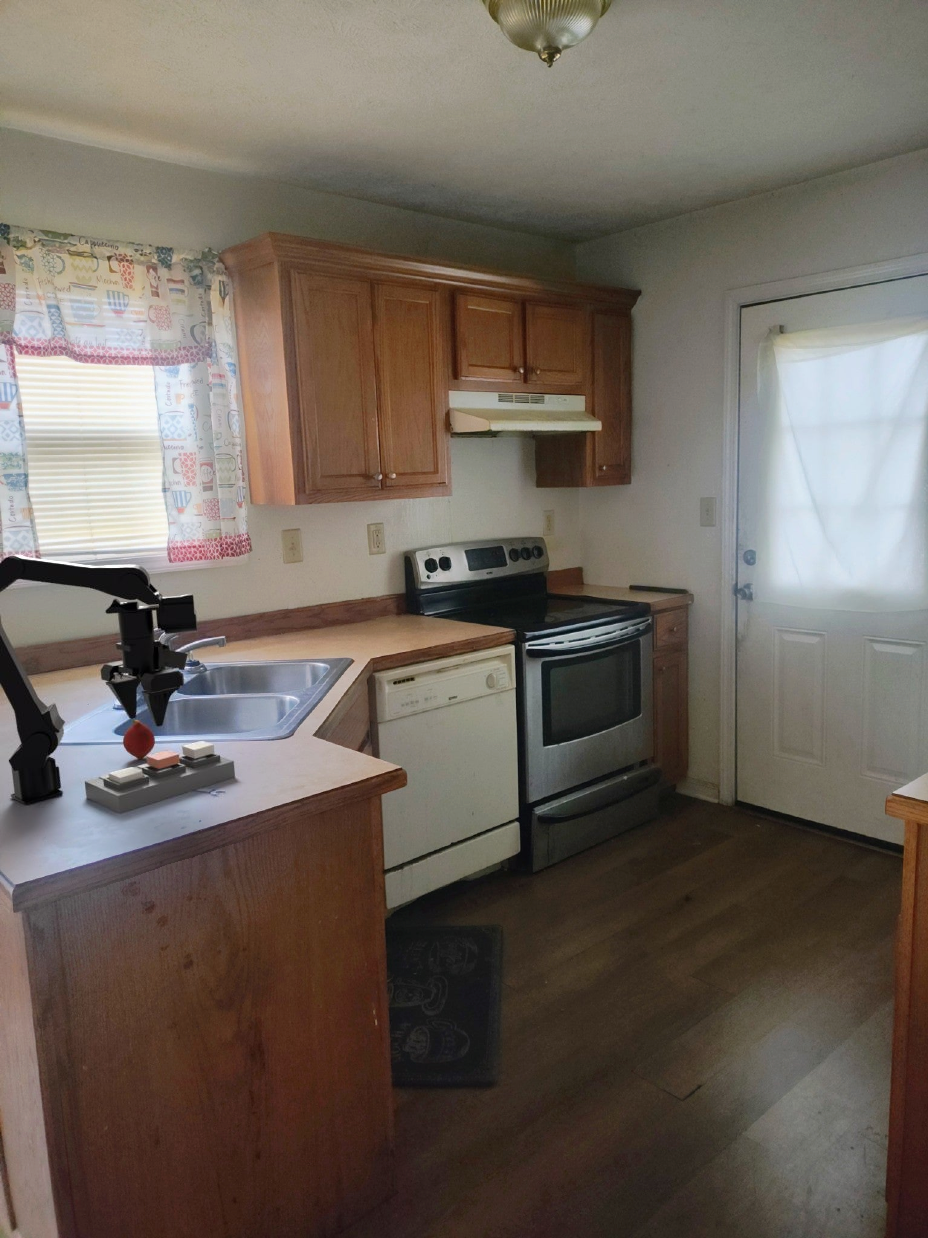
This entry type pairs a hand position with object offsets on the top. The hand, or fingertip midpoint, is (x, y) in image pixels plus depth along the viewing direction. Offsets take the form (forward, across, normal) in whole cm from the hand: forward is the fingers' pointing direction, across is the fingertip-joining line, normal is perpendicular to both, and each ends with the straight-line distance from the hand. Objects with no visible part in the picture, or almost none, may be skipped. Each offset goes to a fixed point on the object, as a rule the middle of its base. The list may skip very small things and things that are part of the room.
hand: (145, 722), depth 154 cm
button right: (+7, -5, -7) cm, 11 cm away
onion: (+12, +15, -6) cm, 20 cm away
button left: (+8, -5, +7) cm, 12 cm away
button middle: (+7, -5, 0) cm, 9 cm away
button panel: (+11, -4, 0) cm, 12 cm away
